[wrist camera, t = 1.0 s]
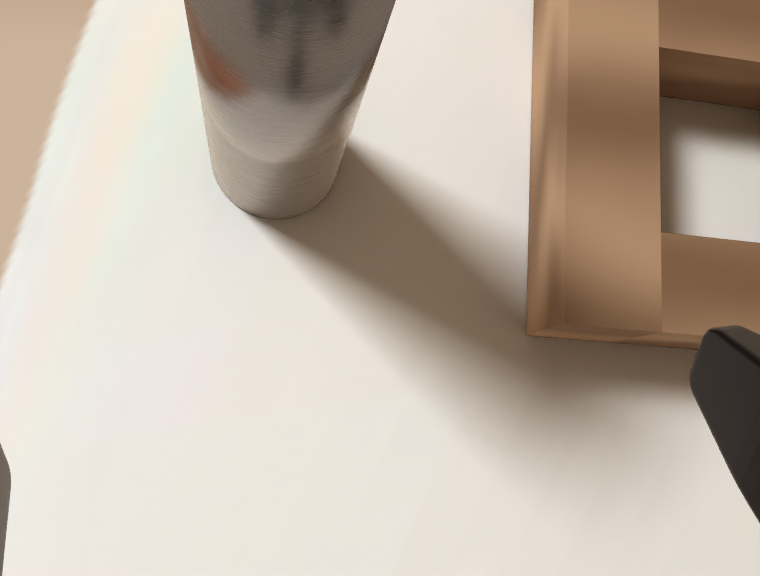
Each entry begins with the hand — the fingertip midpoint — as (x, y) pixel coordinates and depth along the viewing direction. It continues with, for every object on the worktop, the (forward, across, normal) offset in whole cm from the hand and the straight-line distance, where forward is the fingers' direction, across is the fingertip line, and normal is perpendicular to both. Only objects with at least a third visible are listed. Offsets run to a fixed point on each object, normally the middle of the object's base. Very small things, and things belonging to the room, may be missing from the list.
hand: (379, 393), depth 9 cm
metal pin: (+15, 0, +4) cm, 15 cm away
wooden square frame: (+14, -14, +5) cm, 20 cm away
